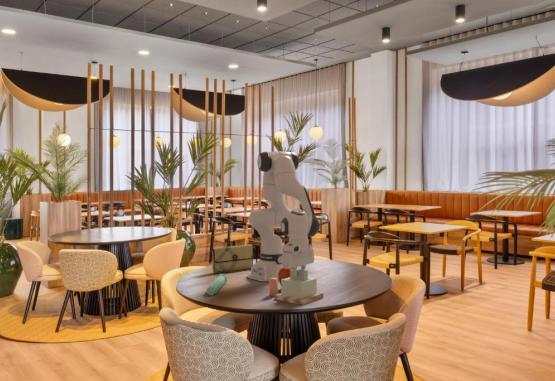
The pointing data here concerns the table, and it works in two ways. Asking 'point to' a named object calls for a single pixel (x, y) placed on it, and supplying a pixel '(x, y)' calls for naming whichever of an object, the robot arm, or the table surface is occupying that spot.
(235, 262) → the clutch purse
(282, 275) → the apple
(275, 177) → the robot arm
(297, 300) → the socket plate
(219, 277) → the pale green rod
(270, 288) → the pin
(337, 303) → the table surface
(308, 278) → the housing
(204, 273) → the table surface
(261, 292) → the table surface
